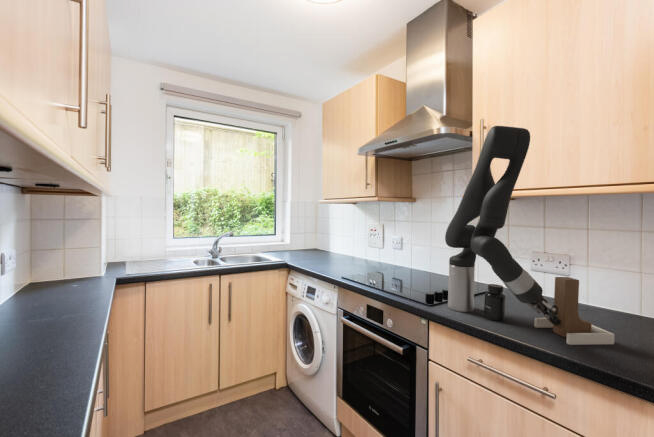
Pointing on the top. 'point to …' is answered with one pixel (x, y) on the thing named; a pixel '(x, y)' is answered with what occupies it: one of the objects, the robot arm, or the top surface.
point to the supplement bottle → (495, 303)
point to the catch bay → (581, 334)
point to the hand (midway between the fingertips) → (557, 323)
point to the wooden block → (568, 307)
